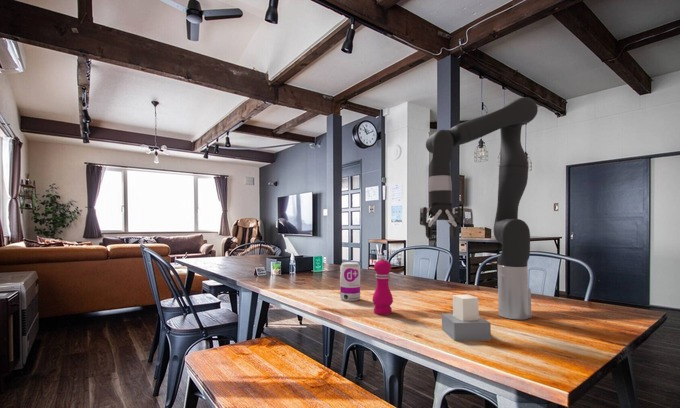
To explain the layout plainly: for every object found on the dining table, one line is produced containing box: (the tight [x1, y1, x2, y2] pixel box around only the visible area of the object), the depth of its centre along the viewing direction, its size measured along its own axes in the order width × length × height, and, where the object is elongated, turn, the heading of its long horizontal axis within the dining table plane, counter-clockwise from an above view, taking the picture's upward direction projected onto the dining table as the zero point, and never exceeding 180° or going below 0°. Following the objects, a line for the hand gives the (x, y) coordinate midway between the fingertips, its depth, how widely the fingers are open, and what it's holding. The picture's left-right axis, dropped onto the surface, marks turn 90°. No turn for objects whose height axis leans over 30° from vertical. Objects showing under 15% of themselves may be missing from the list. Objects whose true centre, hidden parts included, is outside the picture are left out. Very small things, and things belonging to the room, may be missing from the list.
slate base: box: [441, 312, 492, 342], centre depth 98 cm, size 10×10×5 cm
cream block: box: [452, 293, 480, 321], centre depth 99 cm, size 5×5×6 cm
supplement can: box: [339, 261, 361, 302], centre depth 144 cm, size 8×8×15 cm
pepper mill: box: [372, 255, 394, 316], centre depth 123 cm, size 7×7×20 cm
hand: (441, 238), depth 116 cm, fingers open, 8 cm apart
